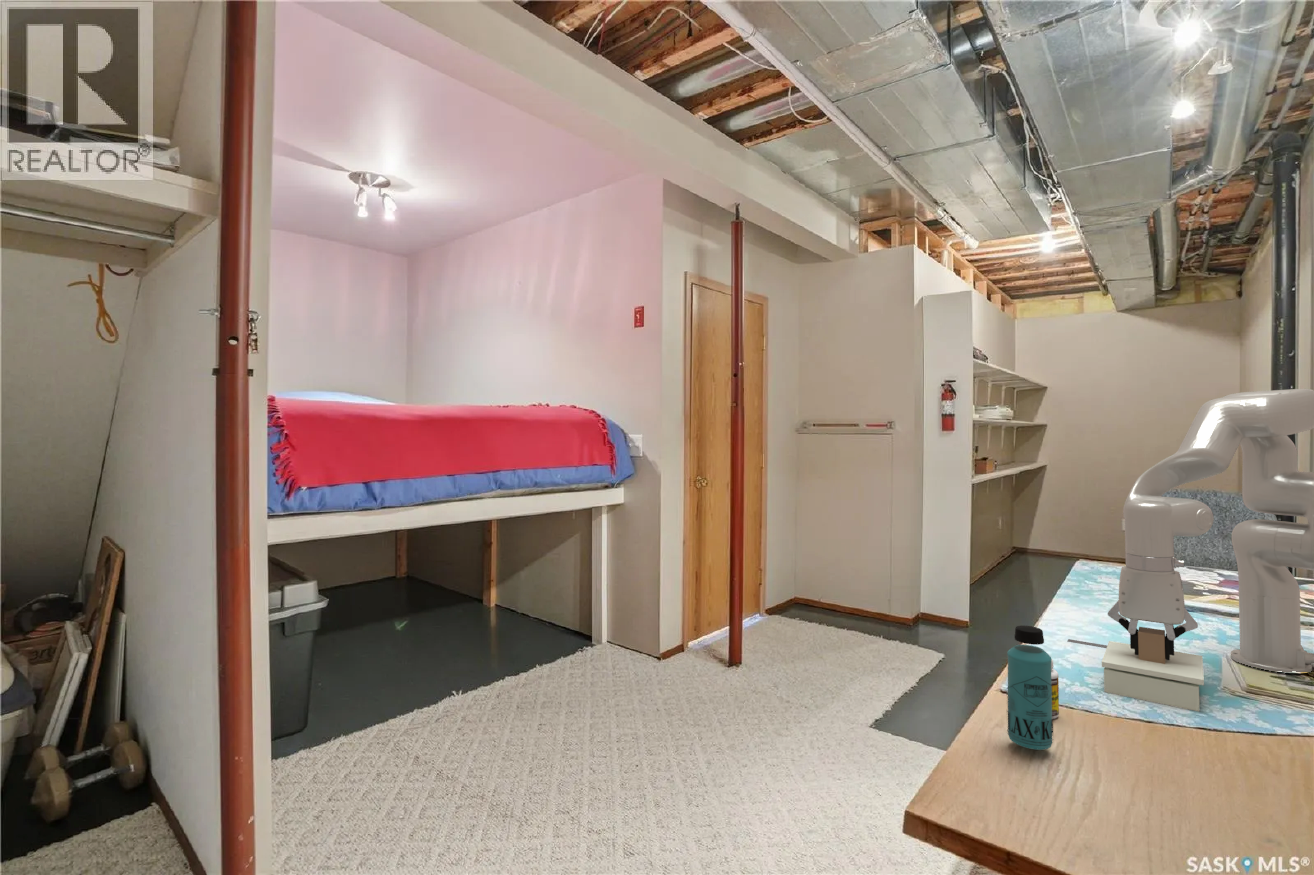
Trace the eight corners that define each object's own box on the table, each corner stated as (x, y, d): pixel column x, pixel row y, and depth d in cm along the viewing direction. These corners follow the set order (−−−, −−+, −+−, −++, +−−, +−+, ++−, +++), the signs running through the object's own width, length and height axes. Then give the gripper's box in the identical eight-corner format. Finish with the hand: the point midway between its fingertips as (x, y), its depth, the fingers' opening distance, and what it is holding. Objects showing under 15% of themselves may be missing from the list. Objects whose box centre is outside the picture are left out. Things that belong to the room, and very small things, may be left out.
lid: (1202, 660, 122) (1201, 628, 122) (1203, 685, 110) (1202, 649, 110) (1109, 645, 132) (1108, 615, 132) (1101, 666, 120) (1100, 633, 120)
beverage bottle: (998, 741, 103) (996, 622, 103) (1035, 738, 103) (1033, 620, 103) (1025, 761, 96) (1022, 634, 96) (1064, 758, 97) (1062, 632, 97)
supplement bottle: (1050, 723, 109) (1049, 666, 109) (1017, 712, 113) (1016, 657, 113) (1065, 715, 112) (1063, 659, 112) (1032, 704, 116) (1031, 651, 117)
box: (1198, 690, 122) (1198, 664, 122) (1199, 714, 111) (1198, 687, 111) (1111, 673, 131) (1110, 649, 131) (1104, 694, 120) (1103, 669, 120)
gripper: (1205, 564, 118) (1208, 659, 118) (1099, 555, 129) (1102, 642, 129) (1206, 572, 113) (1209, 671, 113) (1095, 561, 124) (1098, 652, 124)
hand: (1152, 654), depth 121 cm, fingers closed on lid, 4 cm apart
